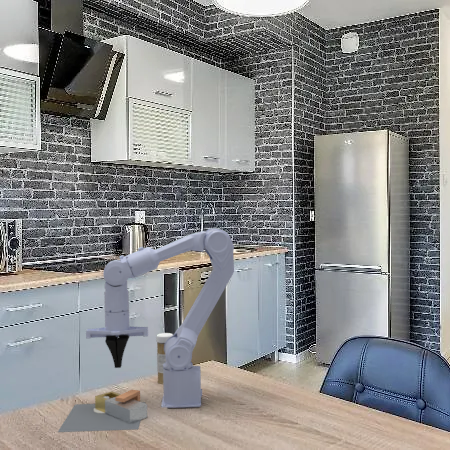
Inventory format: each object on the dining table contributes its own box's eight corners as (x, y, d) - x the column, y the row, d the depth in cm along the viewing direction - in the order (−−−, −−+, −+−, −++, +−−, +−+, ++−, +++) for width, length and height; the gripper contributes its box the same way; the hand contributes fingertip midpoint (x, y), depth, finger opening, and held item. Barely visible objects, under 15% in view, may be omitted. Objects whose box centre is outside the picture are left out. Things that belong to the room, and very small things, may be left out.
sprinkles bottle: (168, 379, 155) (167, 331, 154) (177, 383, 151) (176, 334, 151) (154, 383, 152) (153, 334, 151) (163, 386, 148) (162, 336, 148)
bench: (145, 403, 135) (145, 390, 135) (138, 431, 118) (138, 416, 118) (75, 406, 134) (74, 392, 134) (57, 433, 117) (57, 418, 117)
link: (95, 408, 131) (95, 396, 131) (112, 403, 134) (112, 391, 134) (129, 423, 121) (129, 409, 121) (147, 417, 125) (147, 404, 125)
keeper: (132, 409, 132) (131, 389, 132) (140, 410, 131) (140, 390, 130) (115, 417, 126) (115, 397, 126) (124, 419, 125) (123, 398, 125)
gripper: (83, 314, 128) (84, 372, 129) (146, 312, 129) (147, 370, 130) (88, 309, 135) (89, 364, 136) (148, 307, 136) (149, 362, 137)
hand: (118, 366), depth 133 cm, fingers closed
